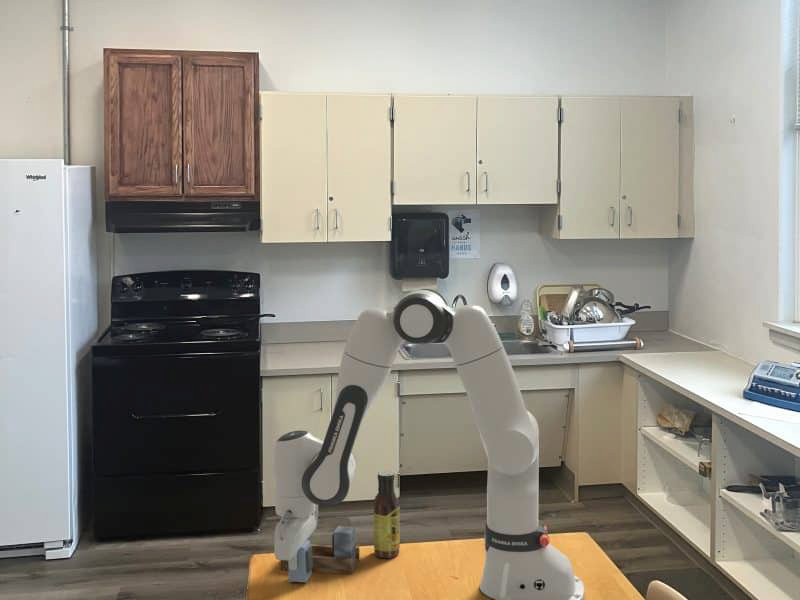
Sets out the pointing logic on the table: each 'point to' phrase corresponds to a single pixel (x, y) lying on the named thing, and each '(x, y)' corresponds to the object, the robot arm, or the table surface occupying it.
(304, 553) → the blue grey rectangular block
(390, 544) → the sauce bottle
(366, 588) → the table surface
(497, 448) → the robot arm
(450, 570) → the table surface
